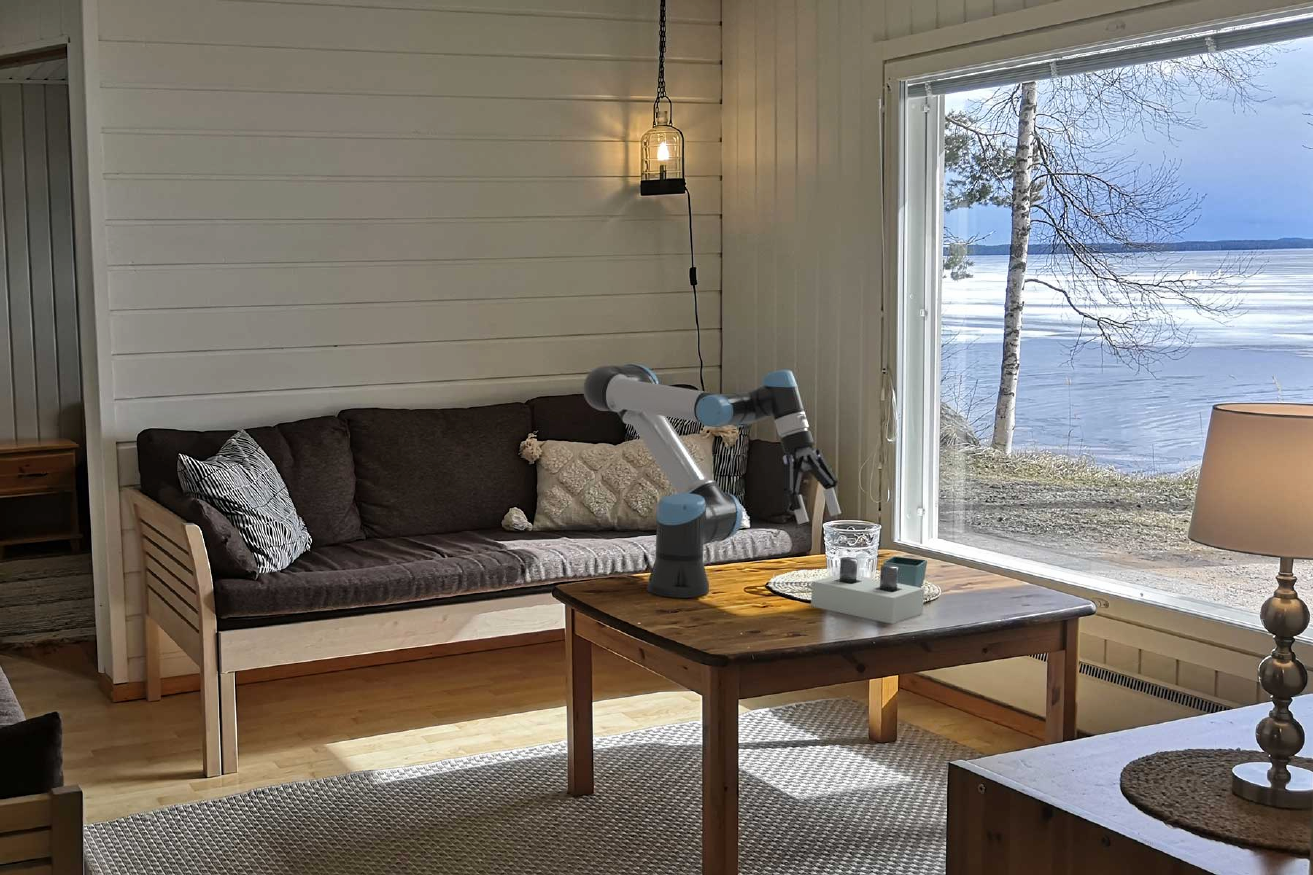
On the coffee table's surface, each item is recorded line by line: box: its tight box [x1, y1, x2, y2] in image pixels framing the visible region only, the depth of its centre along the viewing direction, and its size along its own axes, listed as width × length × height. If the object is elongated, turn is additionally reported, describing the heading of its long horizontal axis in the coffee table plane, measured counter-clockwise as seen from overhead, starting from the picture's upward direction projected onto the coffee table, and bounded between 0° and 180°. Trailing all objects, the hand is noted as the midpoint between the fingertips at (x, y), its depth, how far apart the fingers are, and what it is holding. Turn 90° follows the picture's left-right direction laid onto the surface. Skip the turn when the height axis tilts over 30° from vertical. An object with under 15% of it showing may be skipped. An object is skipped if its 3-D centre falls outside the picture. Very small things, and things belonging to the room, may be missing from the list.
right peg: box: [879, 564, 898, 592], centre depth 303 cm, size 4×4×6 cm
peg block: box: [810, 573, 925, 625], centre depth 307 cm, size 22×14×6 cm, turn 50°
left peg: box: [839, 556, 858, 584], centre depth 310 cm, size 4×4×6 cm
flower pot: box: [882, 556, 928, 588], centre depth 322 cm, size 9×9×9 cm
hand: (820, 518), depth 309 cm, fingers open, 13 cm apart
